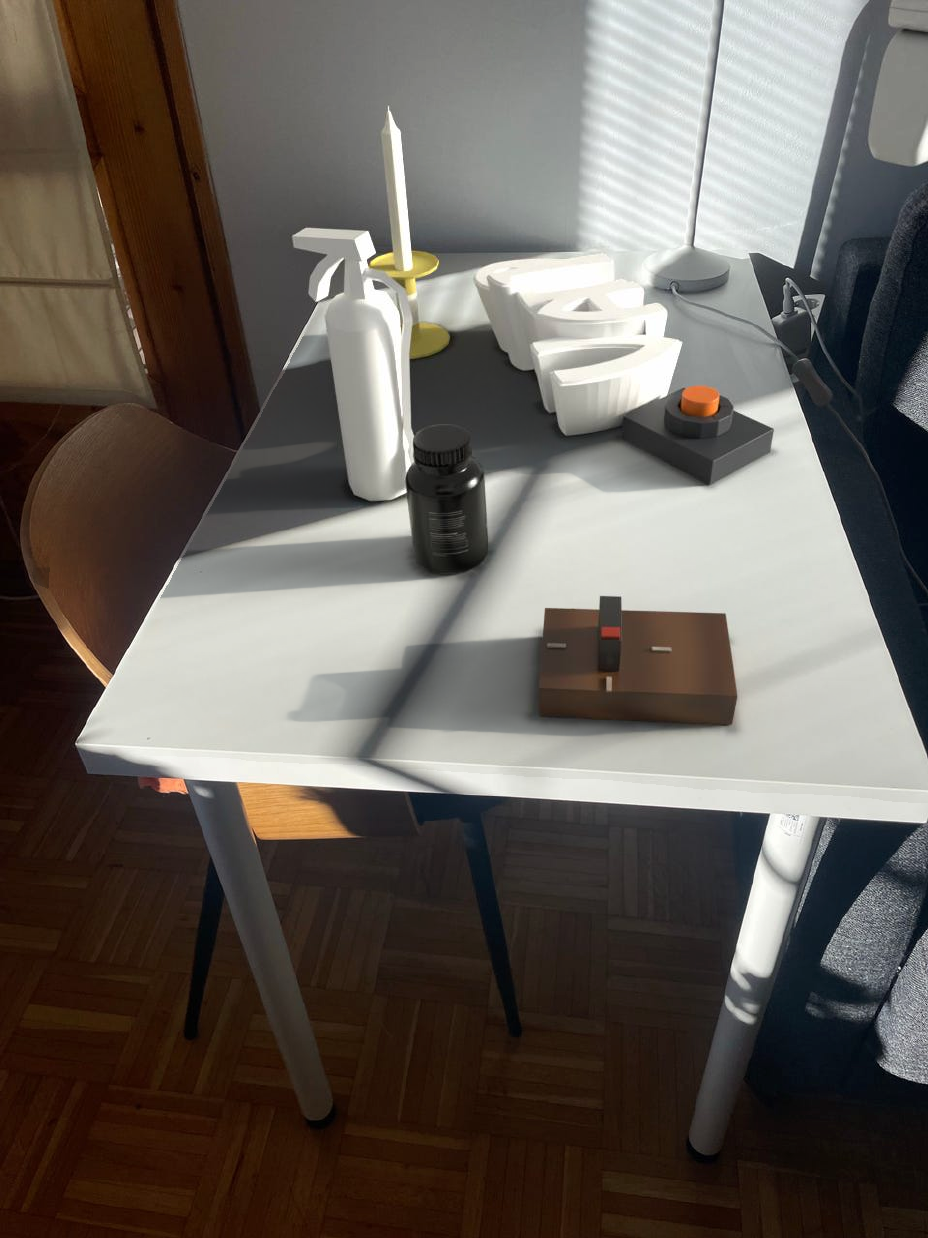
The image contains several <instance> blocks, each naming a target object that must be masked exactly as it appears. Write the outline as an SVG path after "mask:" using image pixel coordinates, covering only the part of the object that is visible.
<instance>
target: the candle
mask: <svg viewBox="0 0 928 1238" xmlns="http://www.w3.org/2000/svg"><path fill="white" fill-rule="evenodd" d="M401 135H402V134H401V130H400V129H399V128H398V127H397V125H396V123H395V120H394V118H393V115H392V111H390V106H389V105H387V111H386V115H385V122H384V126H383V128H382V130H381V131H380V136H381V146H382V147H381V148H382V157H383V166H384V177H385V185H386V196H387V205H388V217H389V225H390V233H391V234H390V235H391V245H392V252H388V253H385V254H382V255H379V256H377V257H375V258H374V259H372V260H371V261H369V263H368V268H371V269H375V270H380V271H384V272H385V273H386V274H387V275H389V276H390V277H391V278H392V279H393V280H395V281H396V282H397V283H398V284H400V285H401V286H402V287H403V288H404V289H406V293H407V298H408V302H409V307H410V311H411V316H412V320H413V321H412V331H411V340H410V350H409V360H414V359H415V360H416V359H420V358H425V357H429V356H432V355H434V354H436V353H439V352H441V351H442V350H444V349H445V348H446V347H447V346H449V343H450V339H451V335H450V334H449V333H448V330H446V329H445V328H444V327H442V326H439V325H438V324H433V323H428V322H420V318H419V317H420V316H419V308H418V296H417V295H418V294H417V287H416V286H417V285H416V279H420V278H423V277H425V276H428V275H430V274H432V273H433V272H435V271H437V269H438V266H439V263H440V262H439V259H438V258H437V256H436V255H434V254H432V253H429V252H426V251H419V250H412V247H411V236H410V225H409V214H408V203H407V191H406V181H405V179H406V178H405V169H404V160H403V147H402V137H401ZM395 299H396V308H397V310H398V312H399V318H400V329H401V334H402V326H403V317H402V312H401V307H400V302H399V297H398V294H397V293H396V292H395Z"/></svg>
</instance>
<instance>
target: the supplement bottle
mask: <svg viewBox="0 0 928 1238" xmlns="http://www.w3.org/2000/svg"><path fill="white" fill-rule="evenodd" d="M413 450H414V452H413V459H414V462H413V463H412V464H411V465H410V467H409V468H408V470H407V473H406V476H405V485H406V493H405V494H406V501H407V509H408V518H409V527H410V534H411V542H412V543H411V544H412V550H413V555H414V558H415V560H416V562H417V563H418V564H419V565H420V566H421V567H422V568H424V569H425V570H427V571H428V572H431V573H435V574H439V575H457V574H462V573H466V572H469V571H471V570H473V569H475V568H477V567H478V566H479V565H481V564H482V562H484V560H485V559H486V557H487V555H488V552H489V530H488V514H487V513H488V512H487V511H488V510H487V497H486V496H487V495H486V478H485V471H484V468H483V466H482V464H481V463H480V462H479V460H477V459H476V458H475V457H474V456H473V451H472V447H471V435H470V433H469V431H468V430H467V429H465V428H464V427H461V426H460V425H456V424H452V423H451V424H447V423H443V424H434V425H430V426H427V427H424V428H422V429H420V430H419V431H417V432H416V434H414V438H413Z"/></svg>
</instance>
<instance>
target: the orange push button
mask: <svg viewBox="0 0 928 1238" xmlns="http://www.w3.org/2000/svg"><path fill="white" fill-rule="evenodd" d="M685 388H686V389H685V390H684V391H683V393H682V401H681V411H682V412H683V413H685V414H687V415H690V416H697V417H706V416H712V415H714V414H716V413H717V410H718V403H719V395H720V393H719V391H718V390H717V389H716V388H714V387H711V386H707V385H693V386H688V387H685Z"/></svg>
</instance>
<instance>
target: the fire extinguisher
mask: <svg viewBox="0 0 928 1238" xmlns="http://www.w3.org/2000/svg"><path fill="white" fill-rule="evenodd" d="M291 238H292V245H293V248H294V249H299V250H303V251H308V252H313V253H318V254H322V255H326V256H324V258H322V259H321V260H320V261H319V262H318V263H317V264H316V266H315V268H314V269H313V271H312V273H311V274H310V276H309V283H308V291H307V292H308V293H307V294H308V295H309V296H310V298H311V299H312V300H314V302H315V303H317V302H319V301H321V300H324V299H325V298H326V297H328V296H329V292H330V285H331V279H332V276H333V275H334V273H335V271H336V270H337V268H338V267H339V265H340V263H341V262H343V261H344V272H343V273H344V274H343V275H344V276H343V277H344V279H343V292H340V293H339V294H336V295H335V296H334V297H333V298H332V299H331V301H330V302H329V303H328V304H327V305H328V306H327V308H326V311H325V315H324V321H325V329H326V335H327V342H328V349H329V356H330V357H329V358H330V363H331V369H332V377H333V383H334V390H335V397H336V405H337V412H338V418H339V424H340V432H341V438H342V445H343V446H342V447H343V452H344V459H345V460H344V461H345V467H346V473H347V481H348V485H349V487H350V490H351V492H352V493H353V495H354V496H356V497H359V498H361V499H364V500H366V501H368V502H379V501H381V502H382V501H391V500H394V499H396V498H398V497H400V496H402V495H405V494H407V493H406V485H405V476H406V473H407V470H408V468H409V467H410V465H411V464H412V463H413V462H414V459H413V452H414V450H413V438H414V437H415V434H414V432H413V429H412V412H411V411H412V410H411V409H412V408H411V379H410V378H411V376H410V375H411V373H410V359H409V350H410V340H411V331H412V321H413V320H412V316H411V311H410V307H409V302H408V298H407V293H406V289H404V288H403V287H402V286H401V285H400V284H398V283H397V282H396V281H395V280H393V279H392V278H391V277H390V276H389V275H387V274H386V273H385V272H384V271H380V270H375V269H371V268H368V266H369V263H368V261H367V260H368V259H369V258H371V257H372V256H374V255H375V254H377V253H376V249H375V247H374V243H373V241H372V237H371V235H370V232H369V230H356V229H355V230H354V229H339V228H338V229H336V228H318V227H305V228H303V229H301V230H300V231H298V232H296V233H295V234H293V235H291ZM373 281H376V282H379V283H383V284H384V285H385V286H387V287H388V288H389V289H391V290H392V291H393V292H395V294H396V293H397V294H398V297H399V302H400V307H401V312H402V317H403V326H402V334H401V329H400V318H399V312H398V309H397V306H396V305H395V304H394V301H393V300H392V299H391V297H390V296H389V294H388V293H387V292H386V291H382V290H378V289H375V286H374V284H373Z"/></svg>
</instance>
